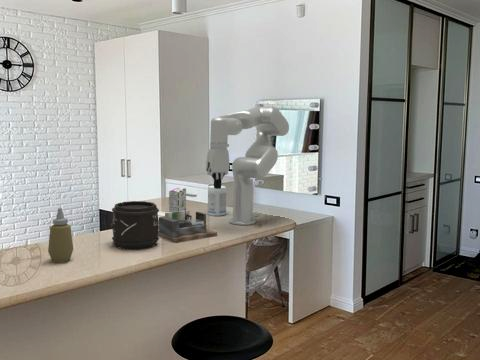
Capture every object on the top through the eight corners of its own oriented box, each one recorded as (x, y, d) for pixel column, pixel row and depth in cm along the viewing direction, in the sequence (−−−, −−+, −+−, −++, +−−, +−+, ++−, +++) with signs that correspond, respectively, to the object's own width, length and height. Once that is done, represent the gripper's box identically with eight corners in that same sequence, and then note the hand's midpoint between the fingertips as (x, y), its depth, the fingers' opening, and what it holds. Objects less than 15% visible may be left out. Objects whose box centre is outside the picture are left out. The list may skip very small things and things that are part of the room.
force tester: (195, 228, 213) (195, 208, 212) (217, 235, 201) (217, 214, 199) (154, 234, 199) (154, 213, 198) (174, 242, 187) (175, 220, 186)
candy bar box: (176, 221, 226) (176, 187, 224) (186, 222, 225) (186, 188, 223) (168, 226, 216) (168, 190, 213) (178, 227, 215) (179, 191, 212)
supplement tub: (224, 212, 251) (224, 185, 249) (227, 216, 242) (228, 187, 240) (206, 212, 249) (206, 185, 247) (208, 216, 239) (209, 187, 238)
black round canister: (107, 240, 188) (107, 201, 186) (152, 237, 195) (152, 199, 193) (113, 252, 172) (113, 210, 170) (162, 248, 179) (162, 207, 177)
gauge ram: (193, 225, 210) (194, 210, 209) (205, 229, 203) (206, 213, 202) (180, 227, 205) (180, 212, 204) (191, 232, 198) (192, 215, 197)
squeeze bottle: (52, 256, 164) (51, 206, 162) (76, 256, 165) (75, 206, 163) (45, 263, 156) (43, 210, 154) (70, 264, 157) (69, 210, 155)
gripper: (226, 146, 213) (225, 186, 215) (199, 146, 204) (198, 188, 206) (237, 147, 208) (235, 188, 210) (210, 147, 198) (208, 190, 200)
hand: (217, 188), depth 208 cm, fingers closed
